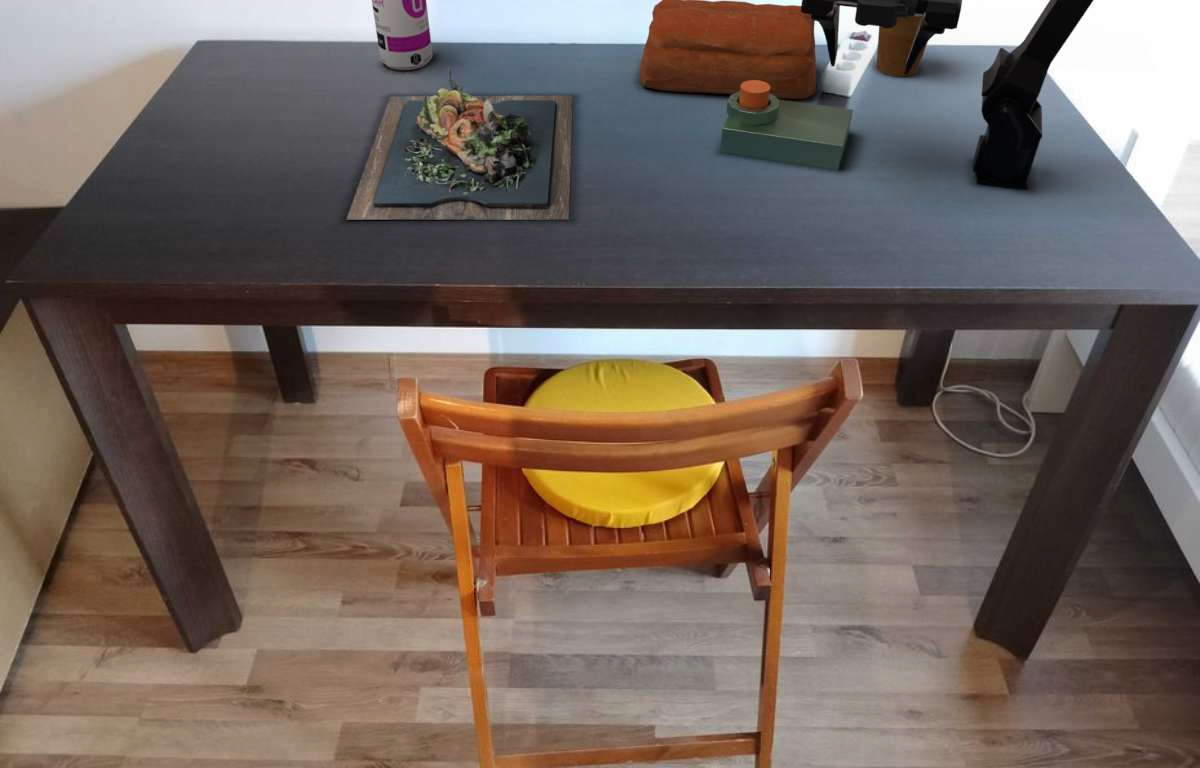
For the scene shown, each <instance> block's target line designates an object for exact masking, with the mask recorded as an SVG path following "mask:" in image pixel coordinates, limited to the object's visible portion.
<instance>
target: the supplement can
mask: <svg viewBox="0 0 1200 768" xmlns="http://www.w3.org/2000/svg"><path fill="white" fill-rule="evenodd" d="M427 3H428V2H427V0H371V7H372V12H373V19H374V26H375V31H376V32H375V33H376V38H377V44H378V45H377V46H378V51H379V58H380V61H381V62H382V64H384V65H386V67H388V68H390V69H392V70H397V71H410V70H416V69H420V68H423V67H425V66H426V65H428V63H429V62H430V60H432V58H433V48H432V47H433V46H432V39H431V37H432V36H431V32H430V31H431V30H430V23H429V21H430V20H429V12H428V4H427Z"/></svg>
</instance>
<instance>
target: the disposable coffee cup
mask: <svg viewBox="0 0 1200 768" xmlns="http://www.w3.org/2000/svg"><path fill="white" fill-rule="evenodd" d="M921 17H922V14H915V16H913V17H912V16H906V18H902V17H898V18H897V23H896V25H895V26H894V27H892V28H882V27H881V26H878V35H877V36H878V37H877V51H876V52H877V54H876V68H877V70H878V71H879V72H880V73H883V74H885V75H888V76H891V77H910V76H914V75H915V74H917V72H918V70H919V68H920V64H921V61H922V58H923V56H924V53H925V50H926V49H927V48H926V47H927V45H928V42H927V43H926V45H925V46H924V47H923V49H922V50H921V52H920V54H919V55H918V57H917V59H916V61H915V62H914V64H913V66H912V68H911V69H910V71H909V73H908V74H907V75H904V72H905V67H906V63H907V58H908V55H909V52H910V49H911V46H912V43H913V41H914V38H915V35H916V32H917V29H918V26H919V23H920V20H921Z"/></svg>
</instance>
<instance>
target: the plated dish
mask: <svg viewBox="0 0 1200 768" xmlns="http://www.w3.org/2000/svg"><path fill="white" fill-rule="evenodd" d="M447 71H448V72H447V76H448V79H447V81H448V82H449V85H450V88H451V90H448V89H446V88H443V87H442V88H440V89H439V90H438V91H437V94H438V95H437V94H434V95H431V96H430V95H426V93H424V94H423V95H421V96H419V95H416V96H415V95H414V96H411V95H410V96H403V95H402V96H389V98H388V101H387V104H386V107H385V110H384V112H383V114H382V115H383V116H382V118H381V121H380V124H379V126H378V129H377V133H376V135H375V138H374V142H373V144H372V146H371V149H370V152H369V155H368V158H367V159H366V163H365V166H364V168H363V172H362V175H361V177H360V180H359V184H358V186H357V189H356V192H355V195H354V197H353V200H352V203H351V206H350V209H349V211H348V215H347V217H346V220H347V221H350V220H351V221H353V220H354V221H356V220H357V221H359V220H360V221H363V220H364V221H365V220H368V221H369V220H371V221H372V220H374V221H375V220H376V221H377V220H421V221H422V220H427V221H428V220H433V221H434V220H460V221H461V220H463V221H464V220H465V221H466V220H468V221H473V220H475V221H477V220H478V221H480V220H481V221H487V220H490V221H491V220H492V221H493V220H494V221H505V220H509V221H510V220H511V221H512V220H514V221H530V220H531V221H545V220H546V221H549V220H550V221H559V220H561V221H562V220H563V221H564V220H566V221H567V220H568V221H569V220H570V194H571V193H570V192H571V191H570V190H571V166H572V165H571V163H572V137H573V136H572V134H573V109H574V107H573V105H574V95H470V94H469V93H465V92H463V88H464V87H465V85H464V84H462V85H461V86H462V87H460V88H458V87H459V84H460V83H459V81H455V80H454V78H453V77H452V69H451V66H448V69H447ZM514 154H515V155H516V156H517V157H520V158H515V156H514Z"/></svg>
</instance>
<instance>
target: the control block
mask: <svg viewBox="0 0 1200 768" xmlns="http://www.w3.org/2000/svg"><path fill="white" fill-rule="evenodd" d="M739 96H740V91H739V92H737V93H734V94H729V97H728V99H727V103H726V114H727V115H728V116H727V118H726V120H725V122H724V124H723V126H722V129H721V140H720V151H719V153H720V154H725V155H726V154H727V155H730V156H731V155H733V156H737V157H744V158H745V157H746V158H751V159H759V160H764V161H770V162H778V163H784V164H791V165H797V166H803V167H809V168H816V169H823V170H830V171H837V172H838V171H839V169H840V166H841V161H842V159H843V156H844V152H845V149H846V144H847V141H848V138H849V133H850V129H851V123H852V118H853V112H854V110H853V109H851V108H843V107H836V106H828V105H822V104H814V103H807V102H800V101H792V100H786V99H780V98H777V97H776V96H774V95H772V94H770V95H769V104H768V107H765V108H762V109H750V108H745V107H743V106H741V105H739Z"/></svg>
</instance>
